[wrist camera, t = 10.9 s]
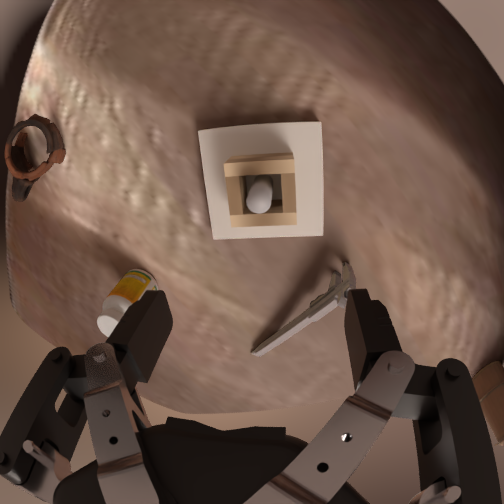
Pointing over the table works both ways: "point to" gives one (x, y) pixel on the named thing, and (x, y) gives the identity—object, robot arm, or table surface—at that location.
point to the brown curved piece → (18, 160)
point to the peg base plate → (265, 175)
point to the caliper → (314, 309)
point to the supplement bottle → (124, 298)
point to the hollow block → (237, 189)
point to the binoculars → (492, 397)
